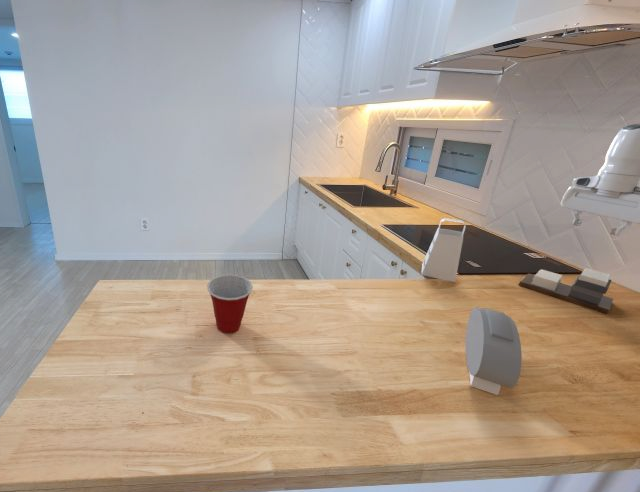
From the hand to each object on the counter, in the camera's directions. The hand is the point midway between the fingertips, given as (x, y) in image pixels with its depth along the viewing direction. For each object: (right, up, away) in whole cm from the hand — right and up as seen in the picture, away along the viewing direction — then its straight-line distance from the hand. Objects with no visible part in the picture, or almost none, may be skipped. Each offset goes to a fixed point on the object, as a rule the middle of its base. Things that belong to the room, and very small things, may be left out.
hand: (594, 229), depth 101 cm
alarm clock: (-53, -33, -26) cm, 67 cm away
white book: (+5, -15, +5) cm, 17 cm away
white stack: (-2, -18, +14) cm, 23 cm away
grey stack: (+5, -21, +7) cm, 23 cm away
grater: (-35, -15, +21) cm, 43 cm away
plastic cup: (-110, -26, -17) cm, 114 cm away
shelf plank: (+1, -21, +11) cm, 24 cm away
